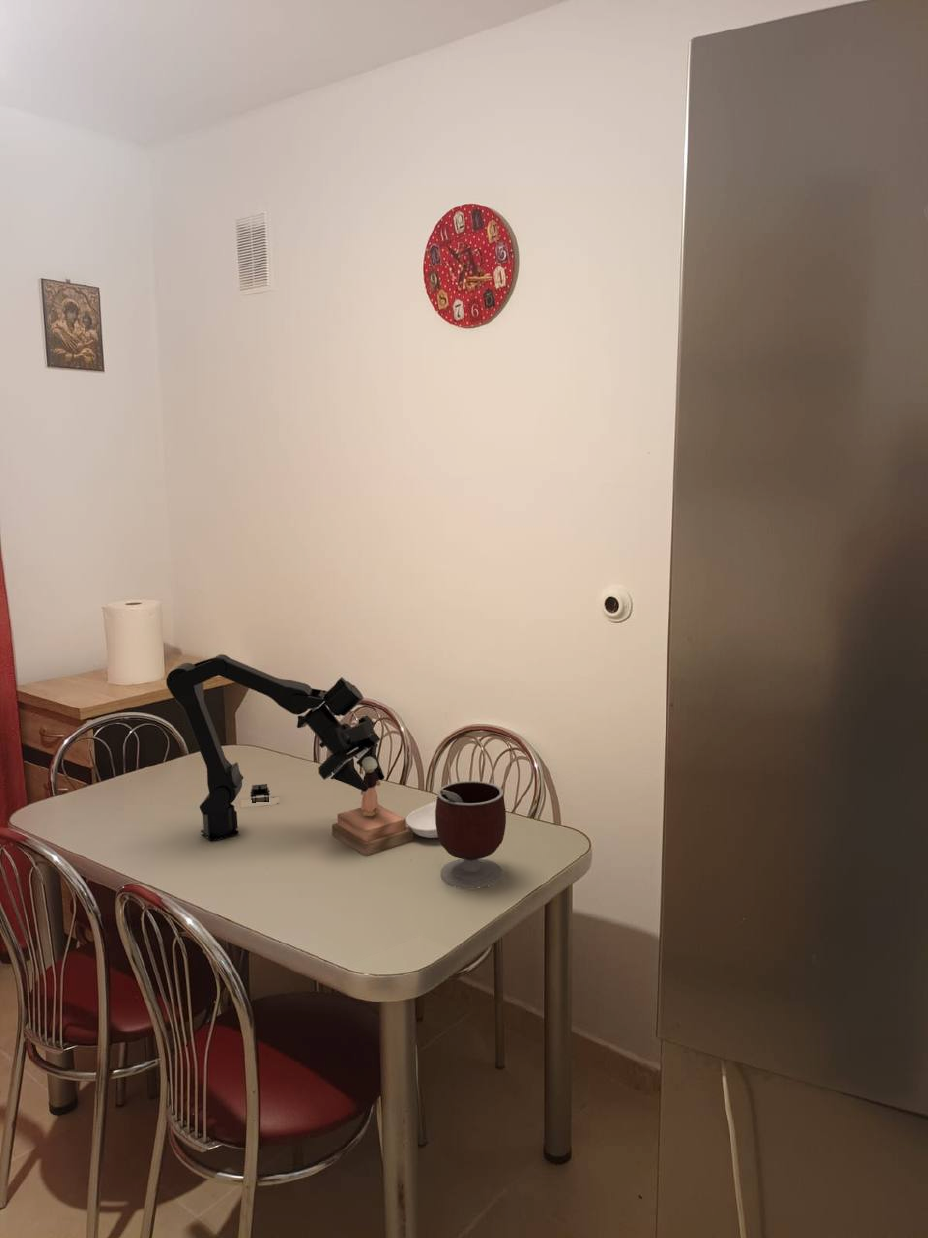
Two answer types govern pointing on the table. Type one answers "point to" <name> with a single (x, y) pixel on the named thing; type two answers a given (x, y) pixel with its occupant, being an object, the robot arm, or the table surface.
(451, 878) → the mate gourd
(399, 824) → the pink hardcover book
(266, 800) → the black barn door light
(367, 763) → the grandmother figurine
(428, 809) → the spoon rest
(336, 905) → the table surface
